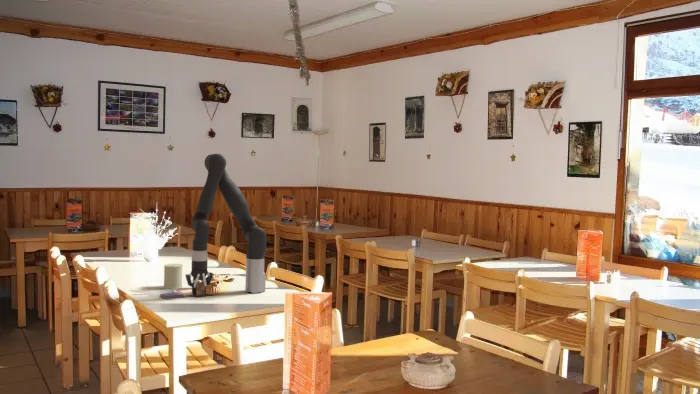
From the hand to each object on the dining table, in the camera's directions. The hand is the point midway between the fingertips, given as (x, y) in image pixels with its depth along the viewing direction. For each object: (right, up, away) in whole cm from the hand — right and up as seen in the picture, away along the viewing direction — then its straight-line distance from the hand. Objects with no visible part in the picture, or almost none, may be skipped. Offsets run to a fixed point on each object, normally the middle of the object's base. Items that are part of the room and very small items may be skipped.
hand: (198, 293), depth 300 cm
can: (-18, +1, +18) cm, 25 cm away
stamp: (0, -1, 0) cm, 1 cm away
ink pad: (-12, -1, -4) cm, 13 cm away
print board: (-7, 0, +6) cm, 9 cm away
